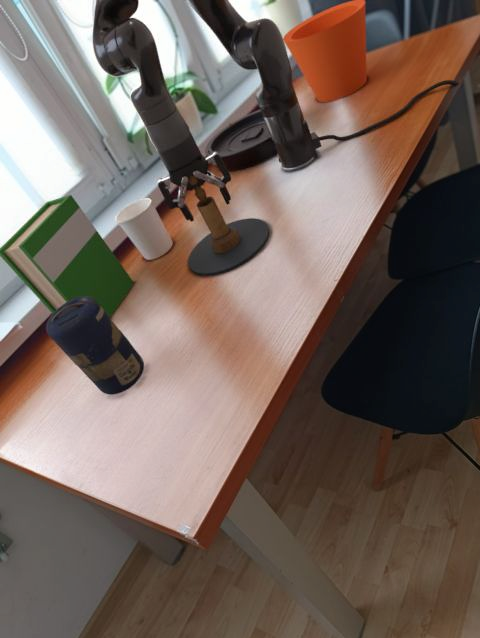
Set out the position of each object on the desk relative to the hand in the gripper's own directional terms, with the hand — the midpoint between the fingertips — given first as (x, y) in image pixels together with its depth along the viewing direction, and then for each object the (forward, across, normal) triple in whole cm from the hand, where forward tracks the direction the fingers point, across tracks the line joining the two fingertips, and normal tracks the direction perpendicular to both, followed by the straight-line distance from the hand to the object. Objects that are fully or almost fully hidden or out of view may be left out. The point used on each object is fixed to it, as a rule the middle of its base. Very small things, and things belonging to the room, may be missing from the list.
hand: (210, 211), depth 104 cm
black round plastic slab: (+10, +16, +52) cm, 55 cm away
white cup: (+10, -18, +15) cm, 25 cm away
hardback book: (+10, -32, -2) cm, 34 cm away
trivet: (+10, 0, 0) cm, 10 cm away
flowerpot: (+10, +48, +66) cm, 82 cm away
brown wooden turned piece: (+9, 0, 0) cm, 9 cm away
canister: (+10, -25, -30) cm, 40 cm away
